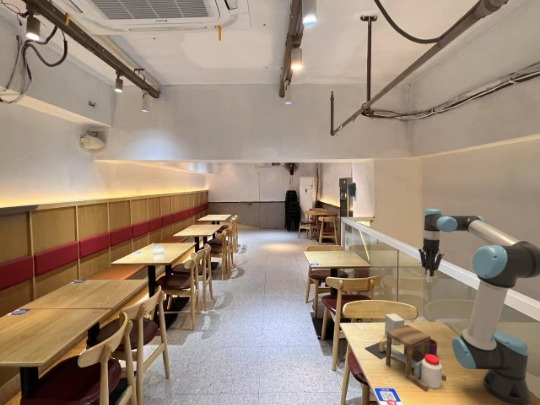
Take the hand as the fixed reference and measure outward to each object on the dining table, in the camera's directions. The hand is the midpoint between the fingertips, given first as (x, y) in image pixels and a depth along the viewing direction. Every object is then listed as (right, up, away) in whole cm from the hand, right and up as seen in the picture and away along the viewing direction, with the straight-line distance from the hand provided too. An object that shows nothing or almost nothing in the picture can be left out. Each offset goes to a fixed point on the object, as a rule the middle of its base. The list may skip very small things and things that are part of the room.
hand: (429, 281), depth 159 cm
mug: (-7, -34, -10) cm, 36 cm away
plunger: (-23, -34, -18) cm, 44 cm away
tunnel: (-19, -35, -24) cm, 46 cm away
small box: (-18, -33, +2) cm, 37 cm away
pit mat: (-29, -33, -7) cm, 44 cm away
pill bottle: (-16, -36, -30) cm, 49 cm away
